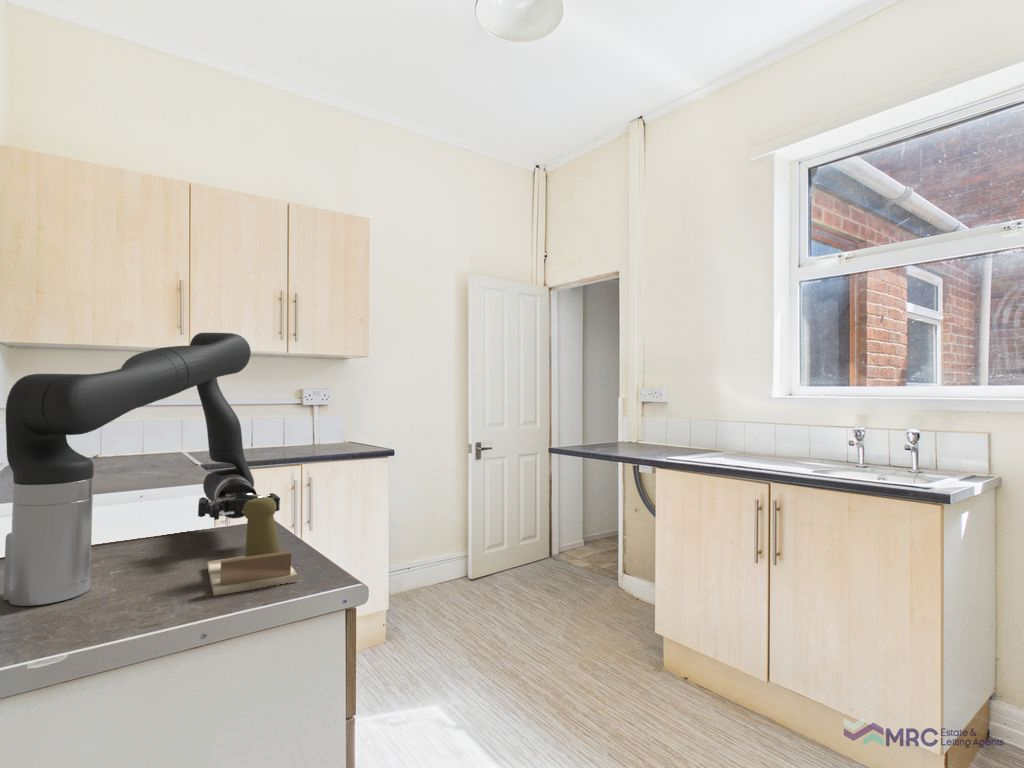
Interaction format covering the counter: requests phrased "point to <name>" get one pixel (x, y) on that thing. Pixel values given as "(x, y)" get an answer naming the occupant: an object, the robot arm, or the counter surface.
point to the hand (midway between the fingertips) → (243, 512)
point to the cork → (261, 527)
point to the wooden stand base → (250, 572)
